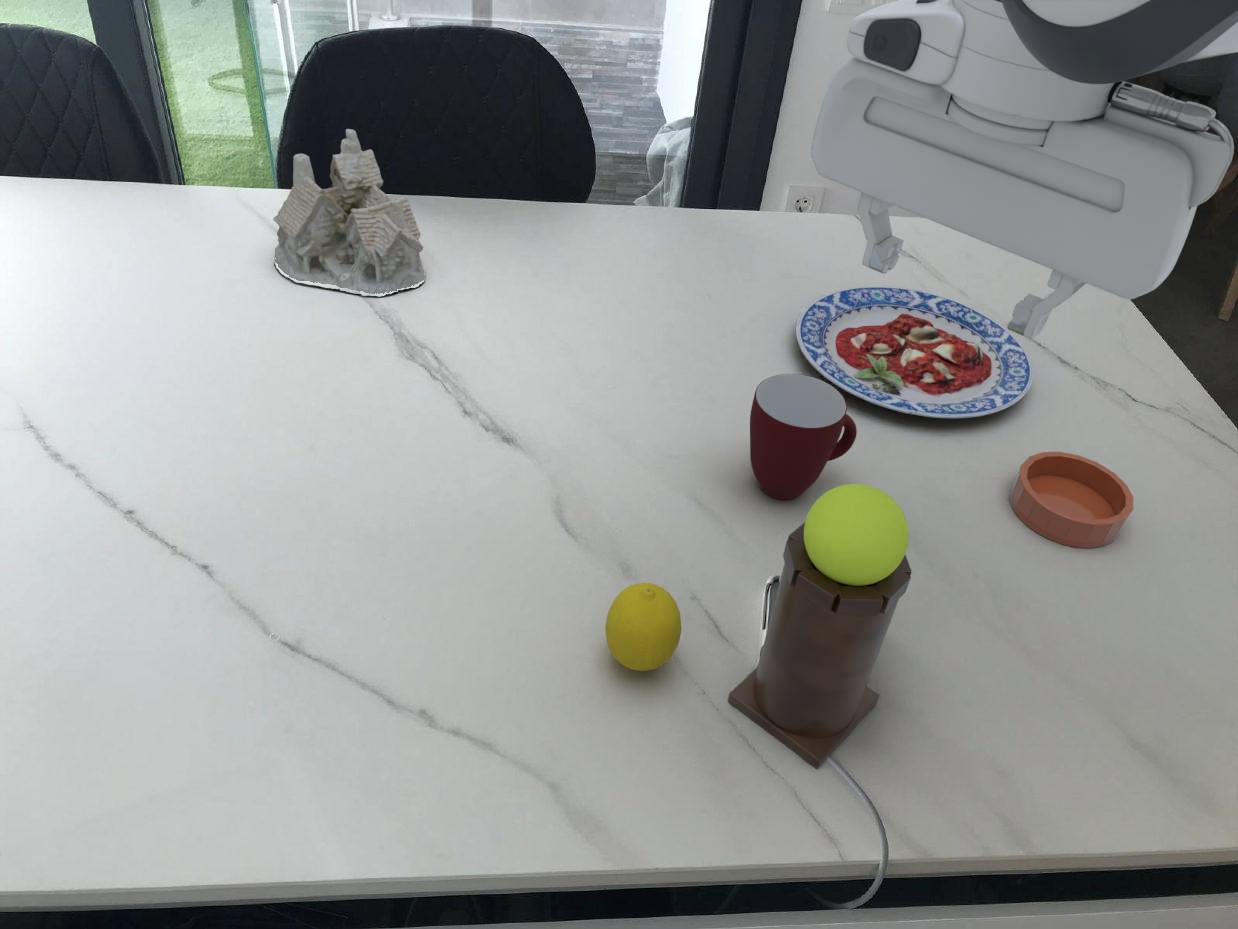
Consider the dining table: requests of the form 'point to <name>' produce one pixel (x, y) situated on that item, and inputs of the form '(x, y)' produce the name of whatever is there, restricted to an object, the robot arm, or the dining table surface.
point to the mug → (796, 432)
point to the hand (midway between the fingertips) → (948, 297)
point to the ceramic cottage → (348, 227)
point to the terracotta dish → (1071, 499)
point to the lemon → (643, 626)
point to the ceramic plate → (914, 352)
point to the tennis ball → (856, 534)
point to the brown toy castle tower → (818, 655)
